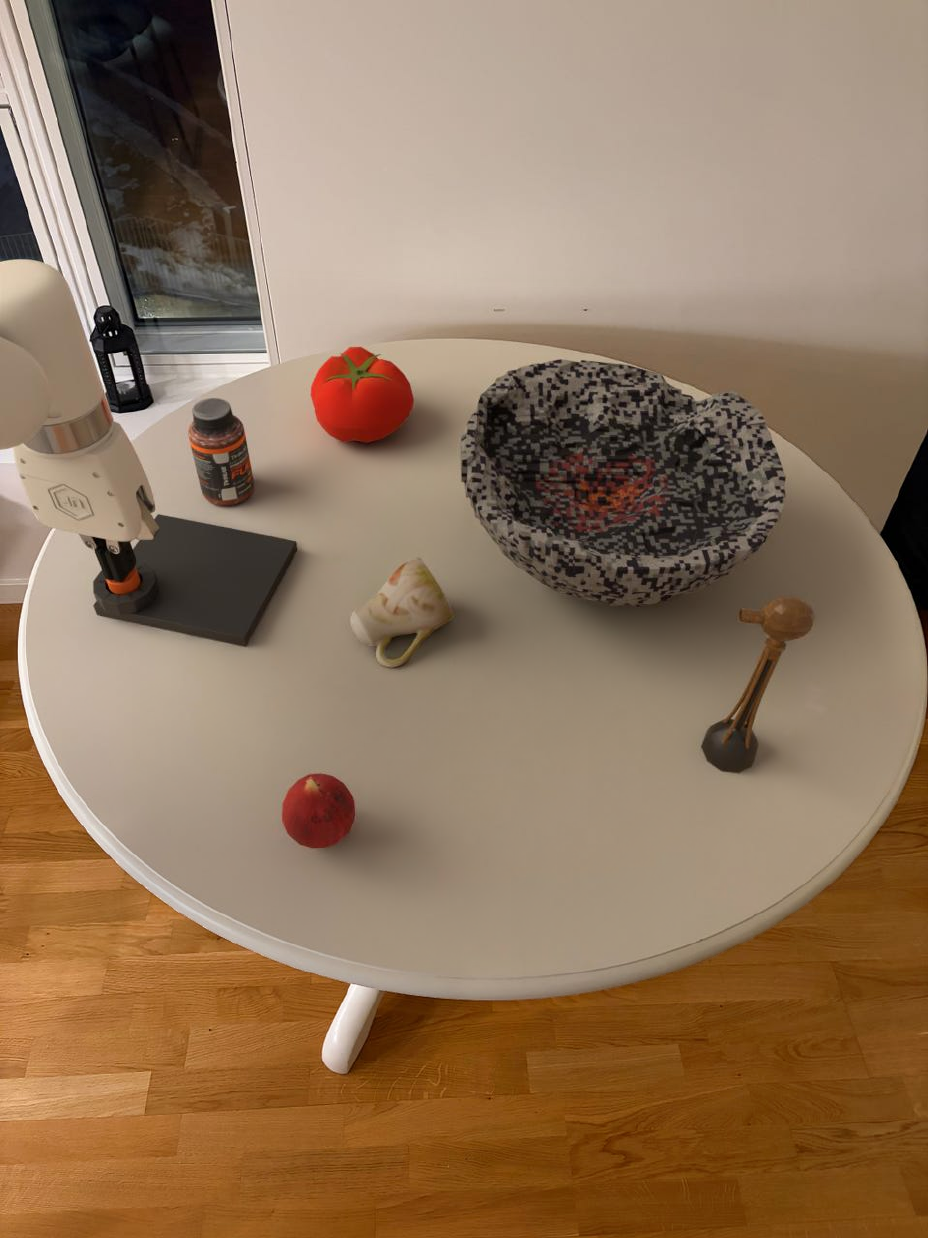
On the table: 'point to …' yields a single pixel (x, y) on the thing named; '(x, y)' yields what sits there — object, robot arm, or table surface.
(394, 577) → the mug
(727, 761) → the wooden tabletop sculpture
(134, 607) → the scale
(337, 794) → the onion
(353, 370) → the tomato
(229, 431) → the supplement bottle
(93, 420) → the robot arm
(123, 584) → the button
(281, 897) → the table surface
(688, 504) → the bowl
